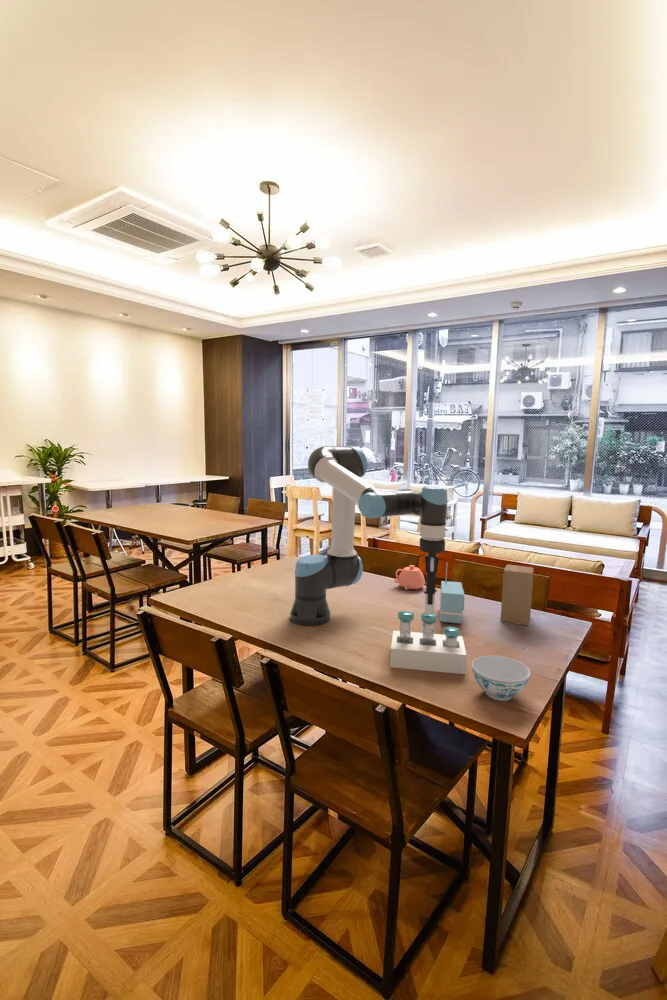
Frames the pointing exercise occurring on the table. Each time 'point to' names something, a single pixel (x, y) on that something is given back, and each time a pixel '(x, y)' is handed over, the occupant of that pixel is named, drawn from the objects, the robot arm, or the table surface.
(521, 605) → the wooden block
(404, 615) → the knob
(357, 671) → the table surface
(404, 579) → the pink teapot
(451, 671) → the mount
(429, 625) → the knob mid
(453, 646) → the knob
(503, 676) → the chinaware
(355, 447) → the robot arm
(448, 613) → the radio
